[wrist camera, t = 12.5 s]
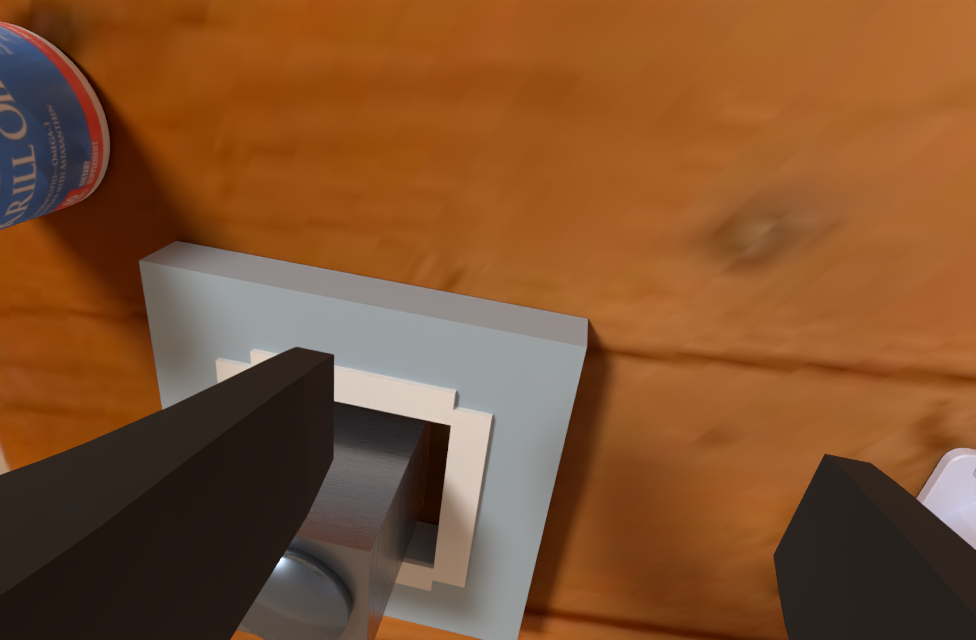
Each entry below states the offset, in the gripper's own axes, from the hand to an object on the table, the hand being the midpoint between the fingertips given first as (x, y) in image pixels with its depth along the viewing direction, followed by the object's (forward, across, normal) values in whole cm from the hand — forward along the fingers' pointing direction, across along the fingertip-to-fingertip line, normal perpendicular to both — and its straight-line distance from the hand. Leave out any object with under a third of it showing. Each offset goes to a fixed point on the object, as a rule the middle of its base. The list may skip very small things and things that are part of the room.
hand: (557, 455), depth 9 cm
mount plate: (+9, +6, +9) cm, 14 cm away
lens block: (+10, +6, +9) cm, 14 cm away
